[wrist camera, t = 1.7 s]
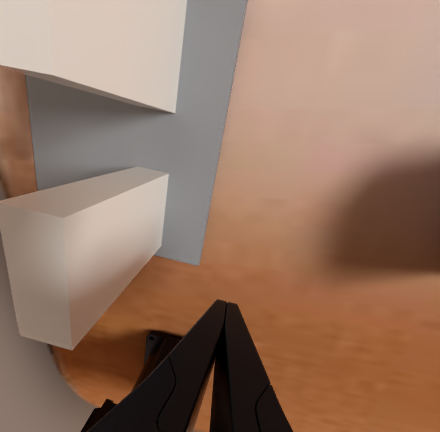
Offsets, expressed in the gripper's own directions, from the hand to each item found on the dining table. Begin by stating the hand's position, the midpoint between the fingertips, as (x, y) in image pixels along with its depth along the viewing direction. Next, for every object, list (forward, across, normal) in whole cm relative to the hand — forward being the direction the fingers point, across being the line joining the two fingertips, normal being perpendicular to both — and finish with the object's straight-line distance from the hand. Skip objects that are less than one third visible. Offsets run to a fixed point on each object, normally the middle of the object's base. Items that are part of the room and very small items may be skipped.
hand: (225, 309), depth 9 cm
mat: (+9, +10, -5) cm, 14 cm away
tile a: (+8, +7, 0) cm, 11 cm away
